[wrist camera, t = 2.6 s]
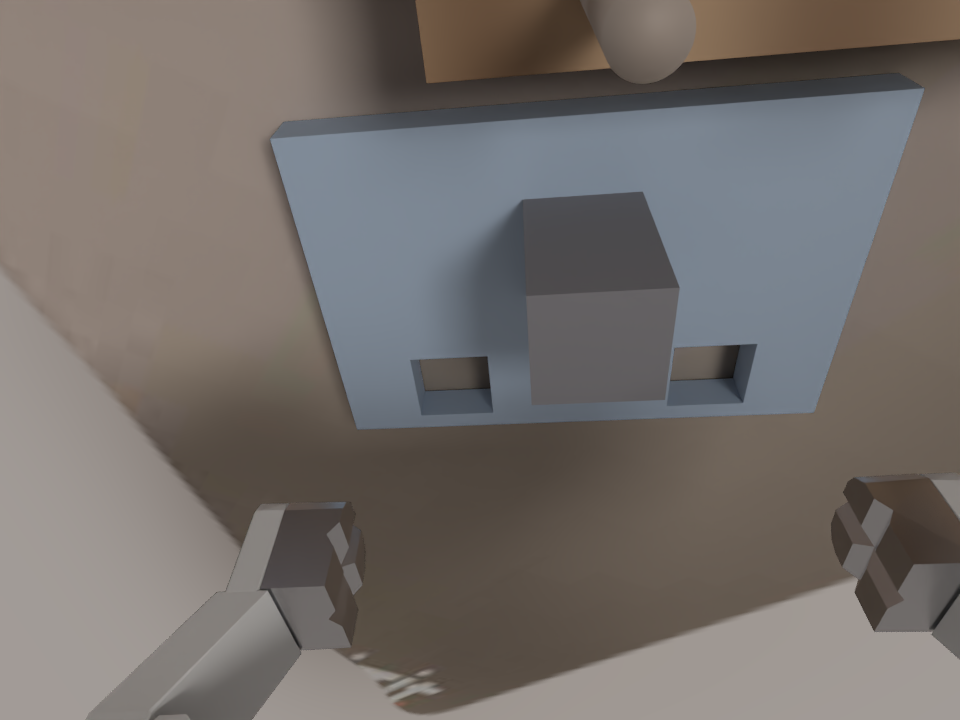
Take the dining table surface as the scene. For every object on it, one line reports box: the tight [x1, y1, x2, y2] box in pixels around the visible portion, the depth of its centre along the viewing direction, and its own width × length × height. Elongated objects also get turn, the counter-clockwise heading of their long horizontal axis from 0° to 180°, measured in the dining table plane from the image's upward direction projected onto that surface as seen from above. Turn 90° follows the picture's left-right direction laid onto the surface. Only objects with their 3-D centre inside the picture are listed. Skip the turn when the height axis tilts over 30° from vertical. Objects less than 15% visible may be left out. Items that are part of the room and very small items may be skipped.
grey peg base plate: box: [270, 73, 925, 430], centre depth 16 cm, size 15×10×6 cm, turn 95°
